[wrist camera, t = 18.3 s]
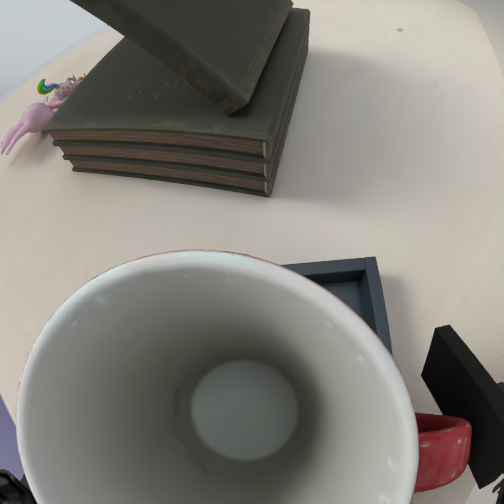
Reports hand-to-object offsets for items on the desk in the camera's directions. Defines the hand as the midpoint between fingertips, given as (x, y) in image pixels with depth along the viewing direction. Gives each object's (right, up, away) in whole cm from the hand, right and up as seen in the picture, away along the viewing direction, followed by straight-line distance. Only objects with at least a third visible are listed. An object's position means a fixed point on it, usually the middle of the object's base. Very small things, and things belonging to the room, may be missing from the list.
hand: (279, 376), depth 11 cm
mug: (0, -5, +5) cm, 7 cm away
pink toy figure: (-26, +21, +19) cm, 39 cm away
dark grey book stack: (-6, +21, +18) cm, 28 cm away
